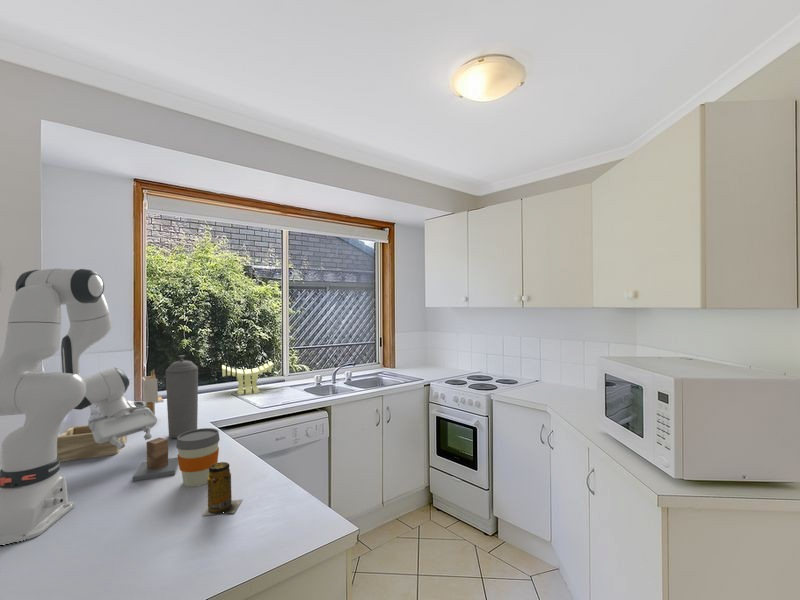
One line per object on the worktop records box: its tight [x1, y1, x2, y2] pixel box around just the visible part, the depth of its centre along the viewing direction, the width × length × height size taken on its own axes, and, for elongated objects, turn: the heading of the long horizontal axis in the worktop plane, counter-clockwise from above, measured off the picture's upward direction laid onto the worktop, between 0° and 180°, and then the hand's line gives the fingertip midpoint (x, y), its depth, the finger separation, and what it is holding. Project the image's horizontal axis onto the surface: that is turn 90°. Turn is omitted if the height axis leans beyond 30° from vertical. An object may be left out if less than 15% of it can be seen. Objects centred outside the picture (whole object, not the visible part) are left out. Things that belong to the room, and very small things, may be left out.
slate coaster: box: [132, 456, 179, 482], centre depth 134 cm, size 12×12×2 cm
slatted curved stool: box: [221, 361, 274, 395], centre depth 251 cm, size 30×16×18 cm, turn 114°
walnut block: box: [146, 437, 169, 470], centre depth 134 cm, size 4×4×9 cm
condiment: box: [202, 461, 243, 516], centre depth 109 cm, size 7×8×12 cm
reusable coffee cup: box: [175, 427, 221, 487], centre depth 126 cm, size 12×13×15 cm
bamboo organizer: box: [57, 424, 128, 463], centre depth 152 cm, size 13×18×9 cm
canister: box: [165, 354, 199, 439], centre depth 170 cm, size 13×13×35 cm
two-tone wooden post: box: [141, 369, 165, 416], centre depth 191 cm, size 8×12×26 cm
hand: (135, 442), depth 138 cm, fingers open, 8 cm apart
